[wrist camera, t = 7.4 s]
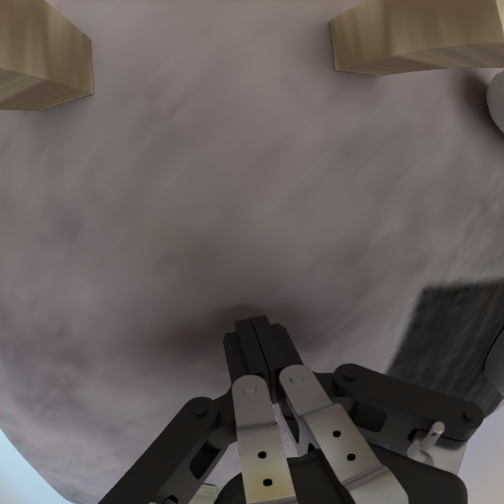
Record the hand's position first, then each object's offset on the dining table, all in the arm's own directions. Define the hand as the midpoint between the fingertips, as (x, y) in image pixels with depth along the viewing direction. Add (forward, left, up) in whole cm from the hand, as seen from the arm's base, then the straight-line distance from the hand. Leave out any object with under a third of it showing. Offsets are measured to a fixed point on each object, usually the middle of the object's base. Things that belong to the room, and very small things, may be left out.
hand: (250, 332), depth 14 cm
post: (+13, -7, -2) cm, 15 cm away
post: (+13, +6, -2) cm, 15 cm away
